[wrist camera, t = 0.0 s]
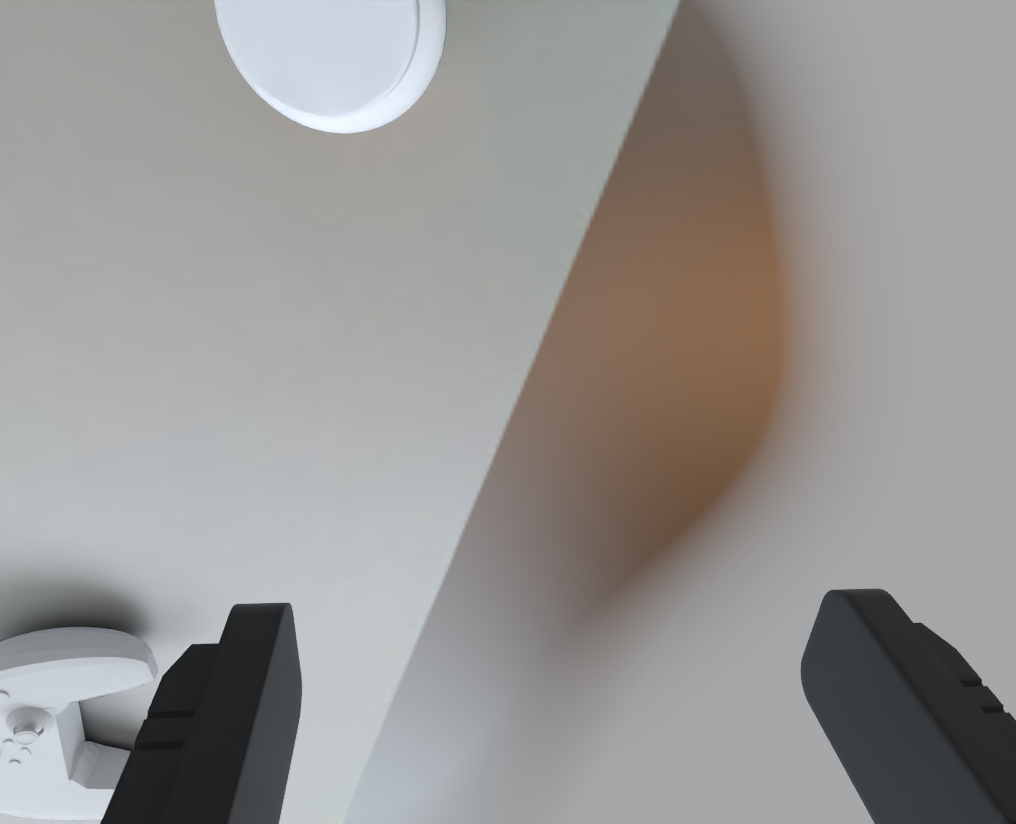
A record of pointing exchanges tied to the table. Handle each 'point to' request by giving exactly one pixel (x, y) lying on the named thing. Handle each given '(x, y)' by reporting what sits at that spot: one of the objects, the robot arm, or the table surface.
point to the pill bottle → (336, 56)
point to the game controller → (62, 719)
